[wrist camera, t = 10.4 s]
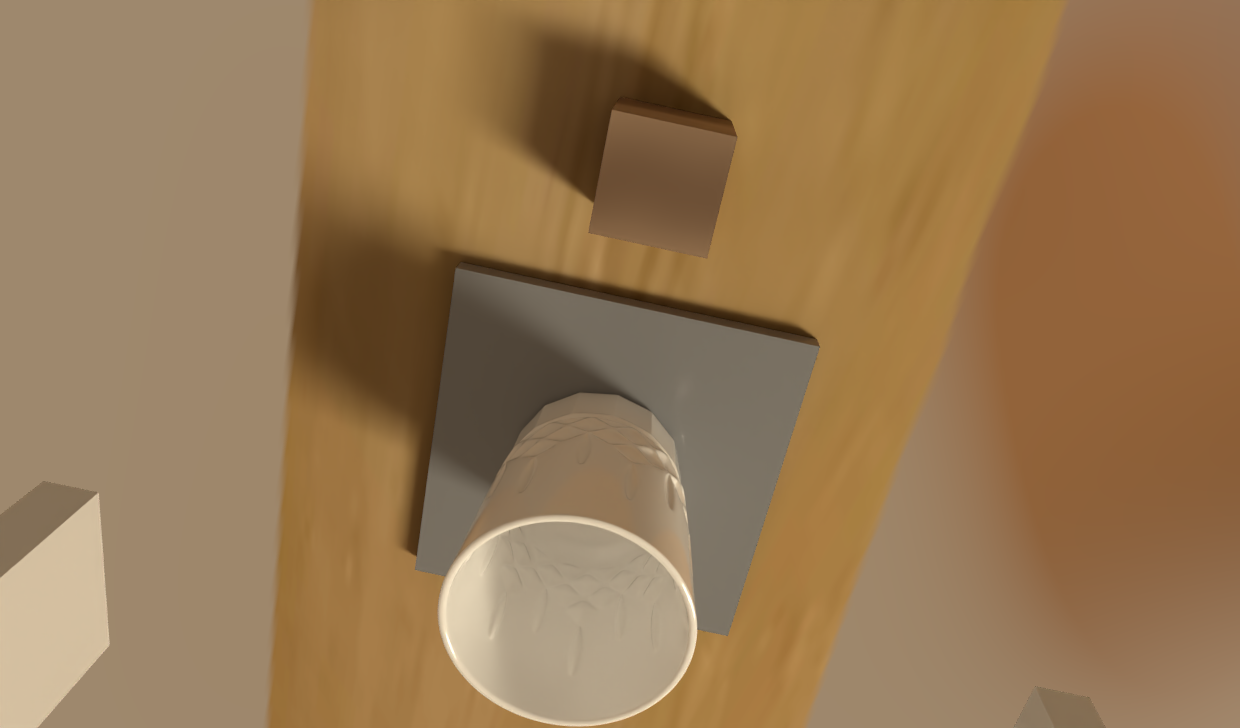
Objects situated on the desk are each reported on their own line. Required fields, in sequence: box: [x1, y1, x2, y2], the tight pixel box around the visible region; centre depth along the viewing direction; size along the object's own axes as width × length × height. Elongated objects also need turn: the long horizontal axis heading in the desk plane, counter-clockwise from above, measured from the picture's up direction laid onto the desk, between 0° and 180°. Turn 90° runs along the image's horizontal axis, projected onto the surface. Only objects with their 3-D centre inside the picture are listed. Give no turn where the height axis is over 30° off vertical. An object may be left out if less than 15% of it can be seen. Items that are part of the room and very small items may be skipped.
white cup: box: [438, 392, 697, 726], centre depth 31 cm, size 8×8×10 cm
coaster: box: [415, 262, 820, 636], centre depth 36 cm, size 14×14×1 cm
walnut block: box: [588, 97, 737, 258], centre depth 30 cm, size 4×4×4 cm
